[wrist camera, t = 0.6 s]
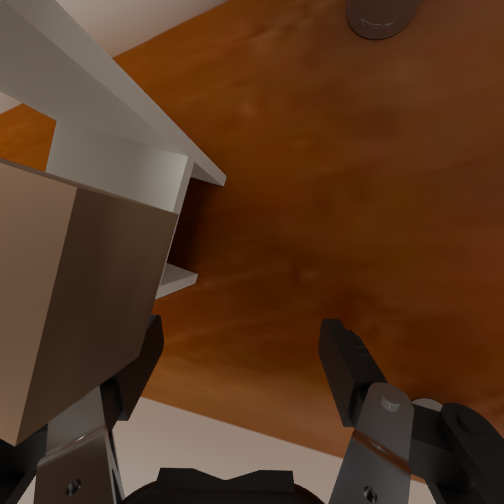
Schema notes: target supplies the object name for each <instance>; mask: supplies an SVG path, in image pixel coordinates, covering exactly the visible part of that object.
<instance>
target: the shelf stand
mask: <svg viewBox="0 0 504 504" xmlns="http://www.w3.org/2000/svg"><path fill="white" fill-rule="evenodd" d="M0 91H1V92H3V93H5V94H7V95H9V96H10V97H12V98H14V99H16V100H18V101H20V102H22V103H24V104H26V105H28V106H29V107H31V108H33V109H35V110H37V111H39V112H41V113H43V114H45V115H47V116H49V117H50V118H52V119H54V120H56V121H57V123H56V127H55V132H54V136H53V141H52V145H51V149H50V154H49V158H48V163H47V167H46V171H45V172H46V173H49V174H53V175H56V176H59V177H62V178H65V179H68V180H72V181H75V182H78V183H81V184H84V185H87V186H91V187H94V188H97V189H100V190H103V191H106V192H110V193H113V194H116V195H119V196H122V197H125V198H129V199H132V200H135V201H138V202H141V203H144V204H148V205H151V206H154V207H157V208H160V209H163V210H167V211H170V212H173V213H176V214H179V215H180V212H181V208H182V205H183V201H184V197H185V194H186V190H187V187H188V183H189V180H190V177H192V178H196V179H199V180H203V181H206V182H210V183H213V184H217V185H220V186H224V184H225V181H226V177H227V176H226V175H225V174H224V173H223V172H222V171H221V170H220V169H219V168H218V167H217V166H216V165H215V164H214V163H213V162H212V161H211V160H210V159H209V158H208V157H207V156H206V155H205V154H204V153H203V152H202V151H201V150H200V149H199V148H198V147H197V146H196V145H195V143H194V142H193V141H192V140H191V139H190V138H189V137H188V136H187V135H186V134H185V133H184V132H183V131H182V130H181V129H180V128H179V127H178V126H177V125H176V124H175V123H174V122H173V121H172V120H171V119H170V118H169V117H168V116H167V115H166V114H165V113H164V112H163V111H162V110H161V108H160V107H159V106H158V105H157V104H156V103H155V102H154V101H153V100H152V99H151V98H150V97H149V96H148V95H147V94H146V93H145V92H144V91H143V90H142V89H141V88H140V87H139V86H138V85H137V84H136V83H135V82H134V81H133V80H132V79H131V78H130V77H129V76H128V75H127V73H126V72H125V71H124V70H123V69H122V68H121V67H120V66H119V65H118V64H117V63H116V62H115V61H114V60H113V59H112V58H111V57H110V56H109V55H108V54H107V53H106V52H105V51H104V50H103V49H102V48H101V47H100V46H99V45H98V44H97V43H96V42H95V41H94V40H93V39H92V37H91V36H90V35H89V34H88V33H87V32H86V31H85V30H84V29H83V28H82V27H81V26H80V25H79V24H78V23H77V22H76V21H75V20H74V19H73V18H72V17H71V16H70V15H69V14H68V13H67V12H66V11H65V10H64V9H63V8H62V7H61V6H60V5H59V4H58V3H57V2H56V1H55V0H0ZM179 215H178V219H179ZM178 219H177V222H178ZM176 226H177V223H176ZM176 226H175V230H176ZM175 230H174V233H175ZM174 233H173V237H174ZM173 237H172V240H173ZM172 240H171V244H172ZM171 244H170V247H171ZM169 251H170V248H169ZM169 251H168V254H169ZM167 258H168V255H167ZM167 258H166V262H167ZM166 262H165V265H164V269H163V273H162V276H161V280H160V283H159V287H158V290H157V294H156V297H155V299H157V298H160V297H162V296H165V295H167V294H170V293H172V292H175V291H177V290H180V289H182V288H185V287H187V286H190V285H192V284H195V283H196V279H197V276H198V274H196V273H193V272H191V271H188V270H185V269H182V268H179V267H176V266H174V265H171V264H168V263H166Z"/></svg>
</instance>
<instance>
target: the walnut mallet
mask: <svg viewBox="0 0 504 504" xmlns="http://www.w3.org/2000/svg"><path fill="white" fill-rule="evenodd" d="M178 215H179V214H176V213H173V212H170V211H167V210H163V209H160V208H157V207H154V206H151V205H148V204H144V203H141V202H138V201H135V200H132V199H129V198H125V197H122V196H119V195H116V194H113V193H110V192H106V191H103V190H100V189H97V188H94V187H91V186H87V185H84V184H81V183H78V182H75V181H72V180H68V179H65V178H62V177H59V176H56V175H53V174H49V173H46V172H43V171H40V170H37V169H34V168H30V167H27V166H24V165H21V164H18V163H15V162H11V161H8V160H5V159H2V158H0V439H2V440H4V441H6V442H8V443H9V444H11V445H13V446H17V445H18V444H19V443H21V442H22V441H23V440H25V439H26V438H28V437H29V436H30V435H32V434H33V433H34V432H36V431H37V430H39V429H40V428H41V427H43V426H44V425H45V424H47V423H48V422H50V421H51V420H52V419H54V418H55V417H56V416H58V415H59V414H61V413H62V412H63V411H65V410H66V409H67V408H69V407H70V406H72V405H73V404H74V403H76V402H77V401H78V400H80V399H81V398H82V397H84V396H85V395H87V394H88V393H89V392H91V391H92V390H93V389H95V388H96V387H98V386H99V385H100V384H102V383H103V382H104V381H106V380H107V379H109V378H110V377H111V376H113V375H114V374H115V373H117V372H118V371H120V370H121V369H122V368H124V367H125V366H126V365H128V364H129V363H131V362H132V361H133V360H135V359H136V358H137V357H139V355H140V351H141V347H142V344H143V340H144V337H145V333H146V330H147V326H148V322H149V319H150V315H151V312H152V308H153V305H154V301H155V297H156V294H157V290H158V287H159V283H160V280H161V276H162V273H163V269H164V265H165V262H166V258H167V255H168V251H169V248H170V244H171V240H172V237H173V233H174V230H175V226H176V223H177V219H178Z"/></svg>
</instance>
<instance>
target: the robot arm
mask: <svg viewBox="0 0 504 504" xmlns="http://www.w3.org/2000/svg"><path fill="white" fill-rule="evenodd" d="M421 1H422V0H348V2H347V9H346V12H347V19H348V22H349V24H350V26H351V27H352V29H353V30H354V31H355V32H356V33H357V34H359V35H361V36H362V37H365V38H368V39H383V38H387V37H390V36H393V35H394V34H396V33H398V32H400V31H401V30H402V29H403V28H404V27H406V26H407V24H408V23H409V22H410V21H411V19H412V18H413V16H414V14H415V12H416V10H417V8H418V7H419V5H420V3H421ZM163 346H164V337H163V330H162V323H161V317H160V315H150V319H149V322H148V326H147V330H146V333H145V337H144V340H143V344H142V347H141V351H140V355H139V357H137V358H136V359H135V360H133V361H132V362H131V363H129V364H128V365H126V366H125V367H124V368H122V369H121V370H120V371H118V372H117V373H115V374H114V375H113V376H111V377H110V378H109V379H107V380H106V381H104V382H103V383H102V384H100V385H99V386H98V387H96V388H95V389H93V390H92V391H91V392H89V393H88V394H87V395H85V396H84V397H82V398H81V399H80V400H78V401H77V402H76V403H74V404H73V405H72V406H70V407H69V408H67V409H66V410H65V411H63V412H62V413H61V414H59V415H58V416H56V417H55V418H54V419H52V420H51V421H50V422H48V423H47V424H45V425H44V426H43V427H41V428H40V429H39V430H37V431H36V432H34V433H33V434H32V435H30V436H29V437H28V438H26V439H25V440H23V441H22V442H21V443H19V444H18V445H17V446H13V445H11V444H9V443H8V442H6V441H4V440H2V439H0V504H17V503H18V501H19V500H20V498H21V496H22V495H23V494H24V492H25V490H26V489H27V487H28V486H29V484H30V483H31V481H32V480H33V478H34V476H35V475H36V483H35V494H34V503H33V504H324V502H322V501H321V500H320V499H319V498H318V497H317V496H316V495H314V494H313V493H311V492H310V491H309V490H307V489H305V488H303V487H301V486H299V485H297V484H294V480H293V471H280V470H279V471H278V470H258V471H255V472H252V473H249V474H246V475H242V476H239V477H236V478H233V479H229V480H222V479H220V478H217V477H214V476H211V475H209V474H206V473H204V472H201V471H198V470H196V469H193V468H160V471H159V475H158V477H157V480H156V481H154V482H151V483H149V484H147V485H145V486H143V487H141V488H139V489H138V490H136V491H134V492H133V493H131V494H130V495H129V496H127V497H126V498H125V495H124V491H123V487H122V482H121V477H120V471H119V465H118V459H117V453H116V447H115V442H114V436H113V431H112V429H113V427H114V425H115V423H116V421H118V420H119V421H128V420H129V418H130V415H131V414H132V412H133V409H134V408H135V406H136V404H137V402H138V400H139V398H140V396H141V394H142V392H143V390H144V388H145V386H146V384H147V382H148V380H149V378H150V376H151V374H152V372H153V370H154V368H155V366H156V364H157V362H158V360H159V358H160V356H161V353H162V351H163ZM319 356H320V359H321V362H322V365H323V368H324V371H325V374H326V377H327V380H328V382H329V385H330V388H331V391H332V394H333V397H334V400H335V403H336V406H337V408H338V411H339V414H340V417H341V420H342V423H343V426H344V427H354V429H355V430H354V431H353V433H352V436H351V439H350V442H349V445H348V448H347V451H346V454H345V456H344V459H343V462H342V465H341V468H340V471H339V474H338V477H337V480H336V483H335V486H334V489H333V492H332V495H331V498H330V501H329V503H328V504H408V499H409V489H410V480H411V474H413V475H415V476H418V477H420V478H423V479H424V480H425V482H426V484H427V486H428V488H429V490H430V492H431V494H432V496H433V498H434V500H435V502H436V504H504V439H503V438H502V436H501V435H500V434H499V433H498V432H497V431H496V430H495V428H494V427H493V426H492V425H491V424H490V423H489V422H488V421H487V420H486V419H485V418H484V417H482V416H481V415H480V414H478V413H477V412H475V411H474V410H472V409H470V408H468V407H466V406H463V405H461V404H457V403H446V404H444V405H443V406H442V408H441V411H440V412H439V411H436V410H433V409H430V408H426V407H423V406H420V405H417V404H414V403H412V402H411V401H410V399H409V398H408V397H407V396H406V395H405V394H404V393H403V392H402V391H401V390H399V389H398V388H396V387H394V386H392V385H390V384H388V382H387V380H386V379H385V377H384V375H383V374H382V372H381V371H380V369H379V367H378V366H377V364H376V363H375V361H374V359H373V358H372V356H370V353H369V351H368V350H367V348H366V346H365V345H364V343H363V342H362V340H361V338H360V337H359V336H357V335H356V334H355V333H354V332H353V331H352V330H345V328H344V326H343V324H342V323H341V321H340V320H339V319H323V320H322V324H321V331H320V338H319Z"/></svg>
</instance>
